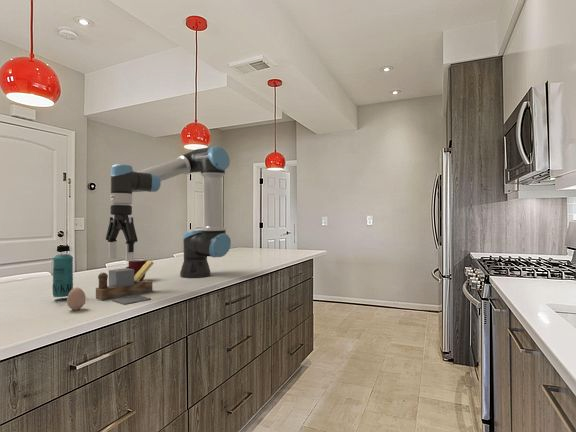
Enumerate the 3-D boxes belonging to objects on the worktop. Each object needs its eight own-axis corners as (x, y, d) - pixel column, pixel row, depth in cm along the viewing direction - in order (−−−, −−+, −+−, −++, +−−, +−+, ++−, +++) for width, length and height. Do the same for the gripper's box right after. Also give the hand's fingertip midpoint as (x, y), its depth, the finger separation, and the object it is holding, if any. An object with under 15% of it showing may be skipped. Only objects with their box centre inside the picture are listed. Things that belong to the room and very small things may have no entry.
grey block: (126, 283, 143) (126, 268, 143) (134, 284, 140) (134, 269, 140) (108, 285, 138) (108, 270, 138) (116, 287, 134) (116, 271, 134)
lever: (131, 282, 144) (148, 262, 150) (136, 284, 141) (154, 263, 147) (129, 281, 143) (146, 260, 149) (134, 282, 141) (152, 261, 146)
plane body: (145, 289, 149) (145, 266, 149) (152, 291, 146) (152, 267, 146) (95, 298, 134) (95, 272, 134) (101, 300, 130) (101, 273, 130)
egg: (86, 310, 117) (86, 288, 117) (67, 312, 114) (66, 289, 114) (85, 307, 122) (85, 285, 122) (66, 309, 119) (66, 287, 119)
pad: (138, 296, 138) (138, 295, 138) (150, 299, 132) (150, 298, 132) (111, 301, 130) (111, 299, 130) (124, 304, 124) (124, 303, 124)
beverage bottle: (54, 298, 134) (54, 245, 134) (74, 296, 137) (74, 244, 137) (50, 302, 128) (50, 246, 128) (72, 300, 131) (72, 245, 131)
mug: (131, 284, 162) (131, 262, 162) (120, 282, 166) (119, 261, 166) (150, 280, 171) (150, 259, 171) (139, 279, 175) (139, 258, 175)
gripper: (96, 205, 144) (96, 258, 143) (128, 203, 128) (127, 263, 128) (115, 205, 149) (115, 256, 149) (147, 204, 134) (147, 261, 134)
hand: (120, 259), depth 138 cm, fingers open, 13 cm apart
